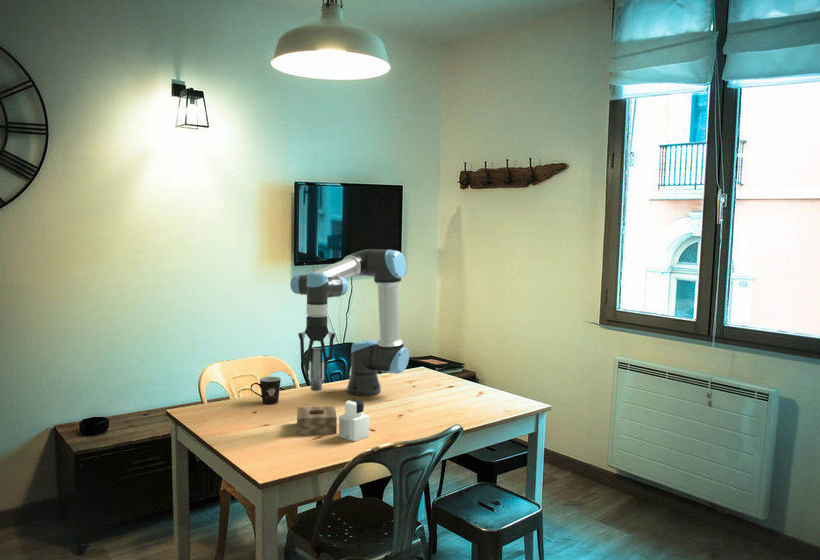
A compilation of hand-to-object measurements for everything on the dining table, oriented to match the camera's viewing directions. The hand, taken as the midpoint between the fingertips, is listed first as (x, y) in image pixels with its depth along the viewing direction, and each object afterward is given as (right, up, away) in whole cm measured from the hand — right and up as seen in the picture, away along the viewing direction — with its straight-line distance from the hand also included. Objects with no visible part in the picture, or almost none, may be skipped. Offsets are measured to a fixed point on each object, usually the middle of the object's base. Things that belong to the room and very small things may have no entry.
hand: (316, 378), depth 233 cm
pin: (0, -4, 0) cm, 4 cm away
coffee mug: (-26, -15, +35) cm, 46 cm away
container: (+14, -20, -7) cm, 25 cm away
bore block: (0, -18, +2) cm, 19 cm away
